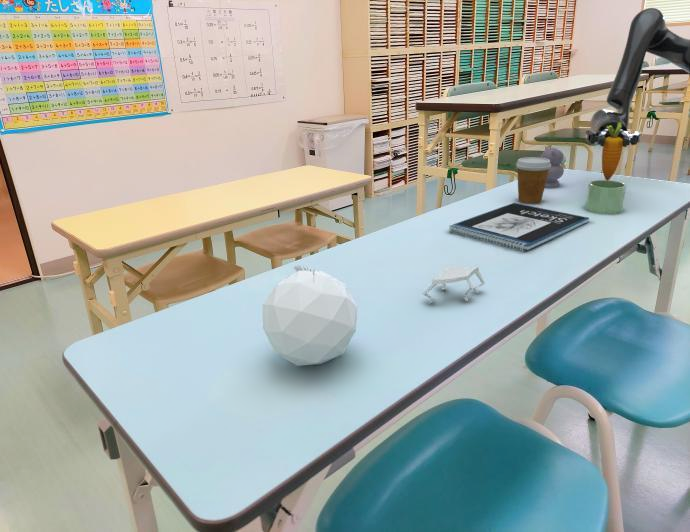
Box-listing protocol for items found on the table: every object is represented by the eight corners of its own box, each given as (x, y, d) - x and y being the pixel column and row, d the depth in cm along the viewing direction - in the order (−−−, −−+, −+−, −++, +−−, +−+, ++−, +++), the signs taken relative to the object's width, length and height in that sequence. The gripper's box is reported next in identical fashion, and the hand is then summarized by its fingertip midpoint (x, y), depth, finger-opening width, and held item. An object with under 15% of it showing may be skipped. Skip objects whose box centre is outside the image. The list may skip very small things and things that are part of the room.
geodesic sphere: (237, 307, 82) (250, 256, 71) (317, 285, 89) (340, 235, 77) (274, 393, 76) (295, 352, 65) (356, 362, 83) (388, 320, 71)
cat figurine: (566, 188, 164) (571, 149, 159) (541, 189, 164) (545, 150, 159) (555, 181, 172) (560, 145, 167) (531, 182, 172) (535, 146, 167)
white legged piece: (449, 281, 102) (450, 258, 100) (486, 293, 97) (488, 268, 95) (410, 301, 95) (411, 277, 93) (449, 316, 89) (450, 290, 87)
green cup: (615, 204, 145) (619, 180, 142) (626, 214, 137) (631, 188, 134) (581, 204, 146) (585, 180, 144) (590, 213, 138) (594, 188, 136)
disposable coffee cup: (514, 196, 157) (517, 156, 153) (547, 197, 154) (552, 157, 150) (511, 204, 149) (514, 162, 145) (546, 206, 146) (551, 164, 141)
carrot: (601, 182, 137) (610, 124, 131) (594, 178, 141) (602, 121, 135) (620, 182, 136) (631, 123, 131) (612, 177, 141) (622, 121, 135)
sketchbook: (588, 222, 132) (589, 214, 131) (525, 254, 114) (526, 245, 113) (513, 206, 147) (514, 199, 146) (446, 232, 129) (447, 224, 128)
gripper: (585, 117, 148) (585, 127, 134) (642, 118, 143) (648, 128, 128) (581, 144, 151) (581, 156, 137) (637, 146, 146) (643, 158, 131)
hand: (614, 142), depth 132 cm, fingers closed on carrot, 4 cm apart
